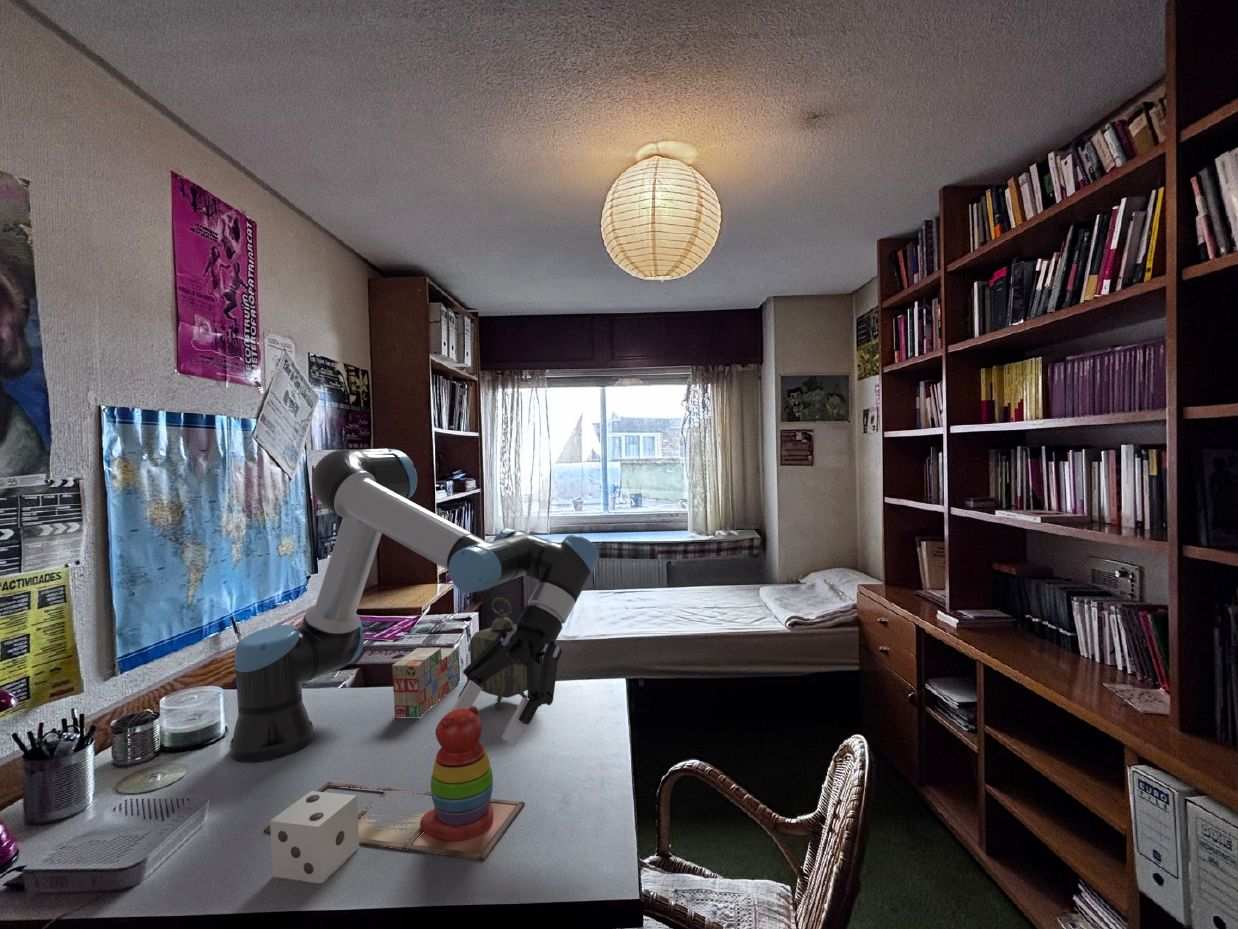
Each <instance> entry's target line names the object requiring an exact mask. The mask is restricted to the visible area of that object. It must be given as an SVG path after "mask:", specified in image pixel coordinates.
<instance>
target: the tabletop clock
mask: <svg viewBox="0 0 1238 929" xmlns="http://www.w3.org/2000/svg"><path fill="white" fill-rule="evenodd" d="M497 601H500V602H504V603H506V605H507V607H508V608H509V611H508V612H507V613H505V611H504V609H499V611H498V610H496V609H495V607H494V605H495V603H496V602H497ZM491 610H492V611H493V613H494V614H495V615H497V616H499V617H496V618H495V619H494V620H493V621H492V622H491V626H490V627H488V628H485V629H481V630H478V631H477V632H475V633H474V634H473V635H472V637H471V638H470V644H469V645H470V646H469V651H470V654H469V656H470V657H469V658H470V663H471V662H473V661H474V660H475V659H476V658H477V657H478V656H479V655H480V654H481V653H482V652H483V651H484V650H485V649H486V648H487V647H488V646H489V645H490V644H491V643H492V642H493V641H494V640H495V639H496V638H497V636H498V635H499V633H500V632H501V631H502V630H504V631H506V632H507V633H508V634H509V635H513V634H514V633H515V632H516V630H517V624H515V623H514V622H513V620H512V619H510V617H508V616H510V614H512V606H511V603H510V602H509V601H508V600H507V599H506V598H503V597H495V598H493V600H492V601H491ZM508 653H509V652H508ZM508 653H507V654H508ZM472 671H474V670H472ZM478 678H479V677H478ZM481 685H482V689H481V691H480V692H484V693H486V694H488V695H493V696H497V701H496V702H495V704H494V708H495V709H496V710H501V708H502V707H503V703H502V702H501V699H502V698H504V699H505V698H506V699H509V698H513V697H514V696H517V695H519V696H521V697H522V698H526V699H527V700H529V699H528V698H527V697H526V696H525V695H526V694H525V692H526V691H527V692H528V689H527V673H526V667H525V666H524V665H517V664H515V663H514V664H513V665H508V666H506V667H505V668H504V669H502V670H501V671H499V672H498V673H496V674H495V675H494V676H492V677H491V678H489V679H488V680H487V681H485V682H484V683H482V684H481Z"/></svg>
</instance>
